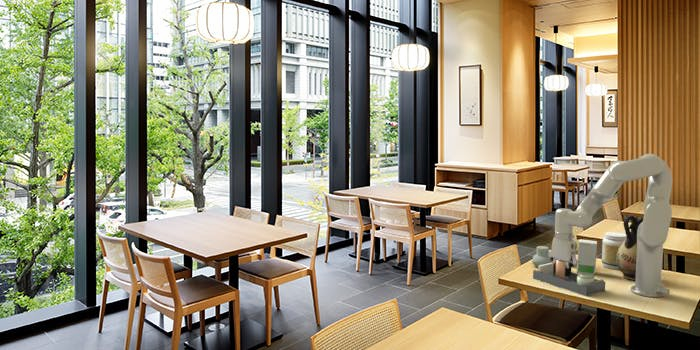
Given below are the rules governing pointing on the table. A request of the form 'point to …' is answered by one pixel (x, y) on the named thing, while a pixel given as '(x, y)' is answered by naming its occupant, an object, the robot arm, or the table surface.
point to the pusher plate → (546, 268)
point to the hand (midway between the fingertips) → (562, 273)
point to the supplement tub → (611, 248)
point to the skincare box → (587, 256)
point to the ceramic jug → (629, 248)
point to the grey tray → (571, 283)
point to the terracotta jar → (561, 269)
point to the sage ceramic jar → (585, 278)
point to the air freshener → (541, 256)
